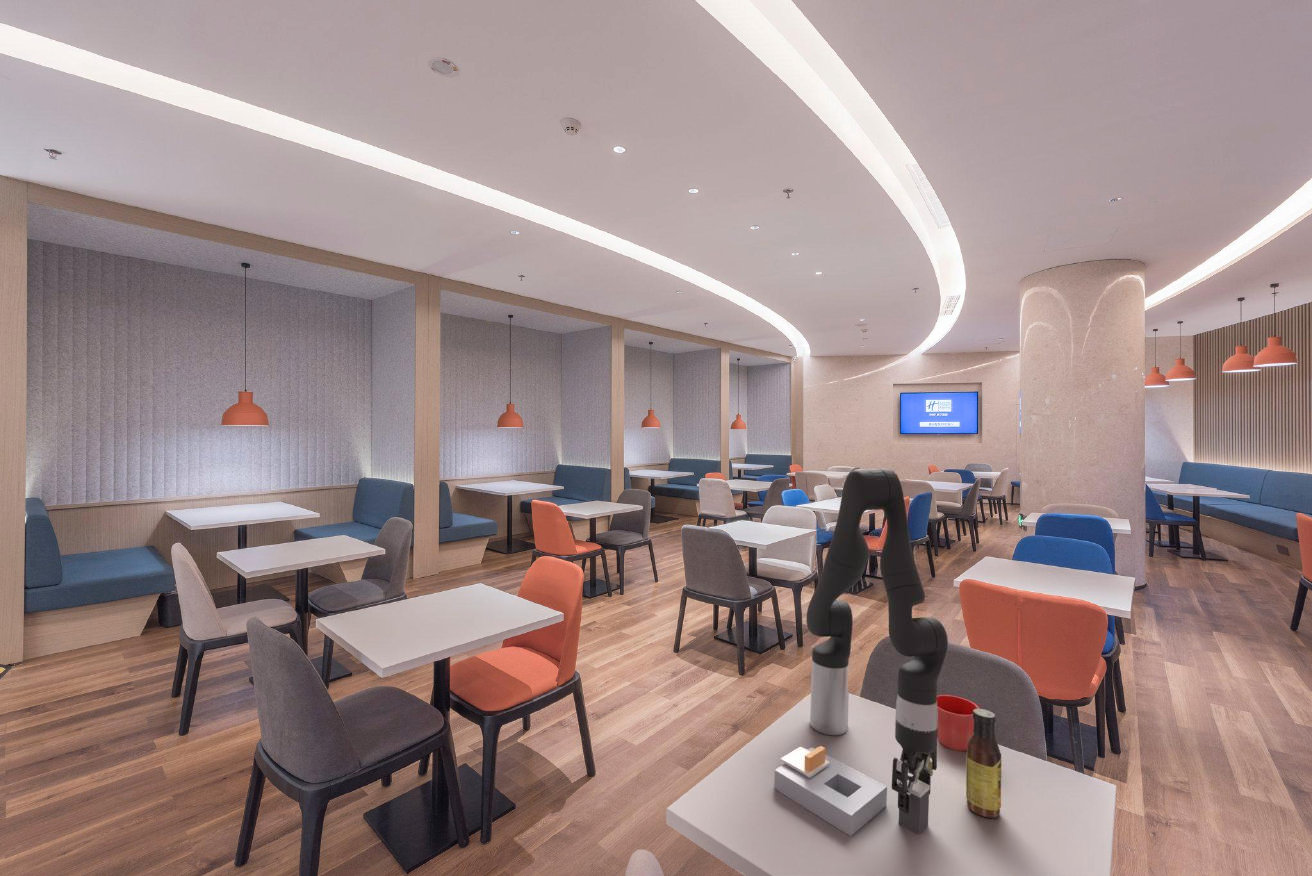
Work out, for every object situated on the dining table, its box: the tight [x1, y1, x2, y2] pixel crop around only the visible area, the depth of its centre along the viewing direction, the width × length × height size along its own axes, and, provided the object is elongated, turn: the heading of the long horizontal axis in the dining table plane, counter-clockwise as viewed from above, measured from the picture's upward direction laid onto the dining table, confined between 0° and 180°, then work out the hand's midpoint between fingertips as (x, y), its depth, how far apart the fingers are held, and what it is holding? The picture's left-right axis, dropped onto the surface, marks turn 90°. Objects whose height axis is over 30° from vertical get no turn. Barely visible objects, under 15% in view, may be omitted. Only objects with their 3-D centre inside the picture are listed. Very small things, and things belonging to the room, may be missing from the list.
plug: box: [898, 774, 931, 835], centre depth 108 cm, size 4×4×8 cm
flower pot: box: [937, 694, 980, 752], centre depth 138 cm, size 11×11×10 cm
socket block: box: [773, 747, 888, 837], centre depth 116 cm, size 14×18×4 cm
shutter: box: [780, 745, 830, 778], centre depth 121 cm, size 8×8×4 cm
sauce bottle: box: [965, 708, 1003, 819], centre depth 113 cm, size 7×6×20 cm
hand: (914, 801), depth 108 cm, fingers open, 8 cm apart
